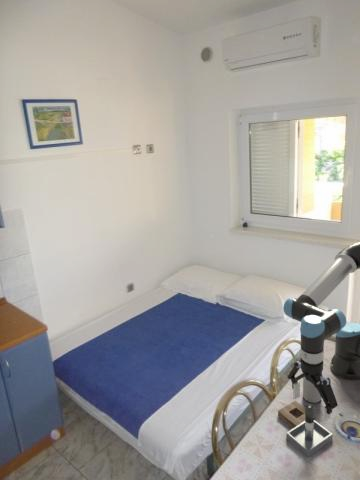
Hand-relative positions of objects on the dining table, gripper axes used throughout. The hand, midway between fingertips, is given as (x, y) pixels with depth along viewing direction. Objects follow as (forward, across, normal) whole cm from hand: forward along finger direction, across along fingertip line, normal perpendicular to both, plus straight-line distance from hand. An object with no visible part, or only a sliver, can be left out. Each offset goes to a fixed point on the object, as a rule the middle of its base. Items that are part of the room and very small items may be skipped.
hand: (311, 407), depth 136 cm
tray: (+14, 0, -1) cm, 14 cm away
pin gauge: (+13, 0, -1) cm, 13 cm away
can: (+15, -14, +17) cm, 26 cm away
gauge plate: (+14, -10, +3) cm, 18 cm away
